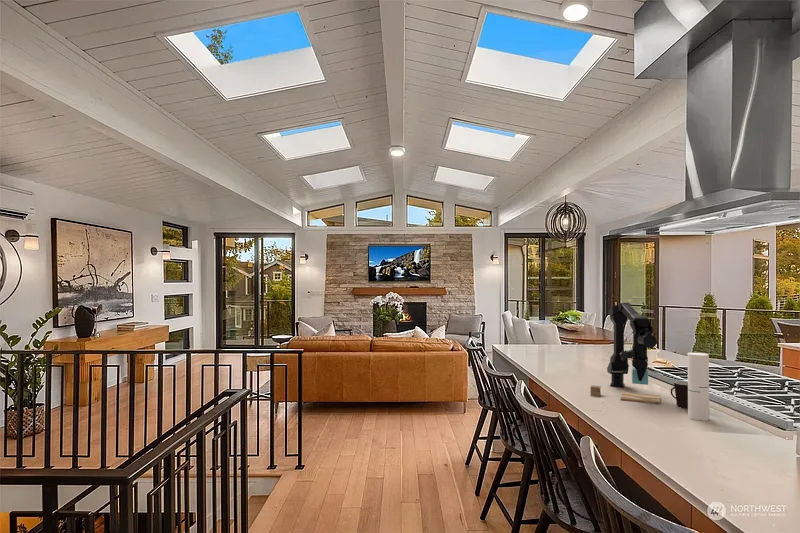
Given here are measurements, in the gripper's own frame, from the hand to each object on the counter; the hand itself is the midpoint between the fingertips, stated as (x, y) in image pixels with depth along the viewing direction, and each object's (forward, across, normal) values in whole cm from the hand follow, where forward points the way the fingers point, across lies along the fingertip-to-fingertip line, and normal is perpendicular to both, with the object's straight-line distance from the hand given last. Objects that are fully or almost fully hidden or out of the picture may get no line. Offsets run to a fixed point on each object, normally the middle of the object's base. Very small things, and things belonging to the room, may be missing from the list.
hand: (640, 379), depth 232 cm
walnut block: (+9, +1, -19) cm, 21 cm away
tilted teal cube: (+2, 0, 0) cm, 2 cm away
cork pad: (+9, 0, 0) cm, 9 cm away
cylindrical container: (+9, +25, +21) cm, 34 cm away
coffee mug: (+9, +8, +16) cm, 20 cm away
